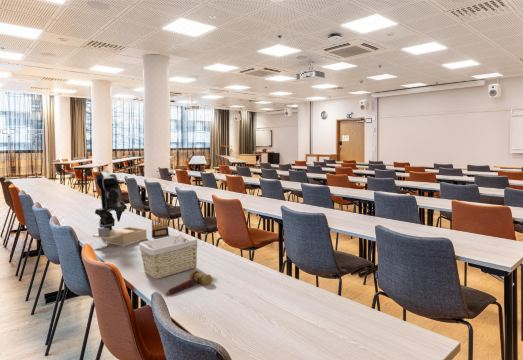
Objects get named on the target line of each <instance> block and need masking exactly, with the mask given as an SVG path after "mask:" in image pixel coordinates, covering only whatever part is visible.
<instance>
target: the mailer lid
mask: <svg viewBox="0 0 523 360" xmlns="http://www.w3.org/2000/svg"><path fill="white" fill-rule="evenodd" d="M97 231H98V233H95V234H92V237H94V238H95V237H96V238H101V239H105V240H106V239H114V238H117V237H120V236H124V235H127V234H130V233H134V232H135V231H133V230H126V229H123V228H118V227H116V228H114V229H113V228H112V230H109V228H105V227H101V228H100V227H98V229H97Z"/></svg>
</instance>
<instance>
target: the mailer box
mask: <svg viewBox="0 0 523 360" xmlns="http://www.w3.org/2000/svg"><path fill="white" fill-rule="evenodd" d="M122 229H126V230H133V231H135V232H134V233H130V234H127V235H124V236H120V237H117V238H114V239H105V243H106V244H110V245H111V244H112V245H117V246H123V247H125V246H128V245H130V244H134V243H138V242H142V241H144V240H147V238H148V237H147V228H141V227H140V228H139V227H133V226H132V227H131V226H127V227H123V228H122Z"/></svg>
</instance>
